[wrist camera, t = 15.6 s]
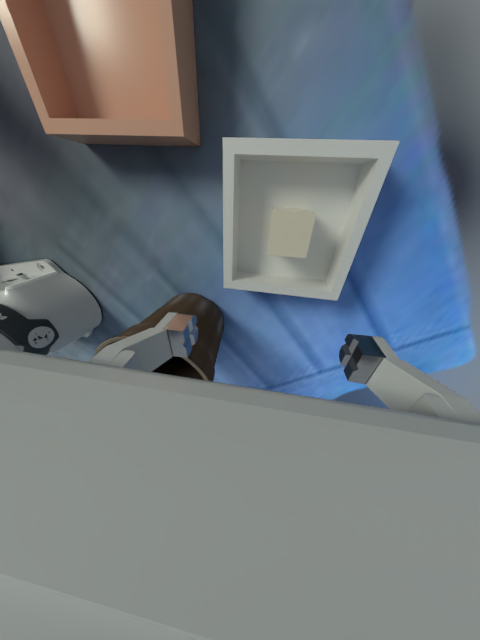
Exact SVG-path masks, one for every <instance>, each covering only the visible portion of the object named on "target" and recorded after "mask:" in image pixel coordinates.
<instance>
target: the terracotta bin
mask: <svg viewBox="0 0 480 640" xmlns="http://www.w3.org/2000/svg"><path fill="white" fill-rule="evenodd" d="M0 20H1V22H2V25H3V27H4V30H5V32H6V35H7V37H8V40H9V42H10V45H11V47H12V50H13V52H14V55H15V57H16V60H17V62H18V65H19V67H20V70H21V72H22V75H23V78H24V80H25V83H26V85H27V88H28V90H29V93H30V95H31V98H32V100H33V103H34V105H35V108H36V110H37V113H38V115H39V118H40V120H41V123H42V125H43V128H44V130H45V133H46V134H49V135H53V136H56V137H60V138H64V139H68V140H72V141H76V142H80V143H84V144H115V145H153V146H191V147H201V141H200V123H199V106H198V88H197V70H196V53H195V35H194V17H193V0H0Z"/></svg>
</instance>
